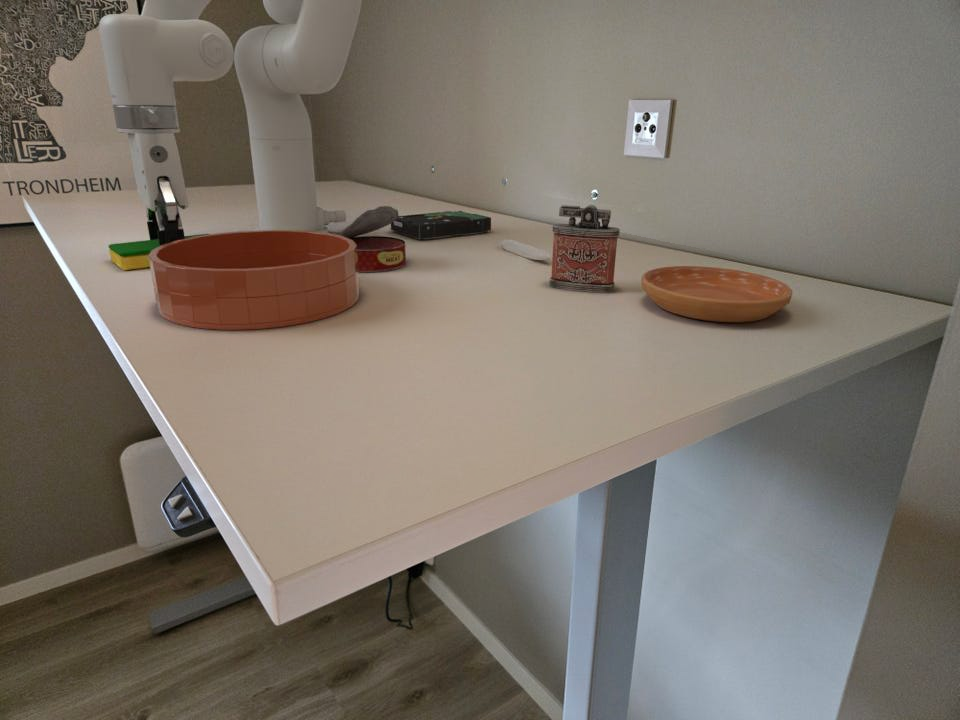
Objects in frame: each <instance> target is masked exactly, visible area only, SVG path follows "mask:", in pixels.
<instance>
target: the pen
mask: <svg viewBox="0 0 960 720" xmlns="http://www.w3.org/2000/svg"><path fill="white" fill-rule="evenodd" d="M500 244H501V247H502V248H503V250H505V251H508V252H510V253H513V254H515V255H517V256H520V257H522V258H525V259H529V260H535V261H545V260H549V259H552V257H551V254H550V252H548V251H547V250H543V249H541V248H538V247H535V246H533V245H530V244H527V243H524V242H521V241H519V240H516V239H509V238H507V239H502V240H501V243H500Z"/></svg>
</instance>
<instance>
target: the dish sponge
mask: <svg viewBox="0 0 960 720" xmlns="http://www.w3.org/2000/svg"><path fill="white" fill-rule="evenodd" d="M210 234H211V233H202V234H193V235H184V236H185V239H186V238H191V237H196V236H202V235H210ZM157 247H159V240H158V239H155V240H150V239H147V240H138V241H128V242H119V243H118V242H117V243H111V244H108V251H109V256H110V260H111V262H112V263H114V264H115V265H116V266H118V267H119V268H120V269H121V270H123V271H130V270H140V269H146V268H150V264H149V258H148V255H149V254H150V252H151V250H153V249H155V248H157Z"/></svg>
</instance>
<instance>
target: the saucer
mask: <svg viewBox="0 0 960 720" xmlns="http://www.w3.org/2000/svg"><path fill="white" fill-rule="evenodd" d="M640 283H641V287H642V290H643V291H644V292H645V294H646V295H647V296H648V297H649V298H650V299H651V300H652V301H653V302H654V304H655V305H657V306H658V307H659V308H661V309H662V310H665V311H667V312H668V313H672V314H675V315H678V316H682V317H686V318H690V319H696V320H702V321H708V322H718V323H751V322H757V321H761V320H765V319H767V318H769V317H770V316H772V315H774V314H775V313H776V312H779V311H780V310H782V309H783V308H785V307H786V306H787V305H788V304H789V303H790V302H791V299H792V297H793V289H792V288H791V287H790V286H789V285H788V284H786V283H784V282H782V281H781V280H778V279H775V278H772V277H770V276H766V275H763V274H758V273H754V272H750V271H745V270H738V269H732V268H723V267H714V266H701V265H700V266H697V265H676V266H675V265H674V266H673V265H672V266H665V267H658V268H654V269H650V270H647V271H646V272H644V273H643V274H642V275H641V282H640Z"/></svg>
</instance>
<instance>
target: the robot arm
mask: <svg viewBox="0 0 960 720" xmlns="http://www.w3.org/2000/svg"><path fill="white" fill-rule="evenodd" d="M211 1H212V0H144V3H143V6H142V10H141V13H140V14H133V13H132V14H131V13H112V14H107V15H104V16H103V17H101V18H100V20H99V23H98V30H99V36H100V43H101V49H102V53H103V59H104V65H105V71H106V76H107V81H108V82H107V83H108V85H109V92H110V97H111V103H112V109H113V115H114V120H115V127H116V131H117V133H119V134H127V138H128V139H127V140H128V145H129V151H130V155H131V156H130V157H131V163H132V169H133V174H134V179H135V183H136V188H137V193H138V196H139V201H140V202H141V204H142V205H143V206H144V207H145V211H146V219H147V221H146V224H147V230H148V237H149V240H155V239H158V240H159V246H161V245H164V244H167V243H170V242H174V241H177V240H181V239H185V236H186V235H185V230H184V228H183V222H182V218H181V215H180V210H179V208H180V209H181V210H186V209H188V207H189V204H190V203H189V198H188V194H187V188H186V183H185V177H184V172H183V168H182V163H181V157H180V152H179V148H178V144H177V140H176V137H175V134H178V133H181V128H180V120H179V112H178V108H177V107H178V106H177V100H176V94H175V86H174V82H211V81H215V80H218V79H221V78H222V77H224V76H225V75H227V73H229V71H230V70H231V68H232V66H233V65H234V66H235V68H234V69H235V72H236V76H237V80H238V83H239V86H240V90H241V93H242V96H243V97H242V98H243V101H244V106H245V111H246V112H245V113H246V118H247V125H248V134H249V135H248V136H249V145H250V153H251V163H252V172H253V183H254V189H255V198H256V206H257V208H256V209H257V217H258V227H254V228H252V229H251V230H250V231H256V230H300V231H315V232H323V233H330V232H329V228H328V225H329V224H330V223H344V222H346V221H347V214H346V211H345V210H344V209H342V210H327V209H324V208H322V207H319V206H318V201H317V189H316V188H317V187H316V176H315V175H316V174H315V162H314V161H315V160H314V149H313V134H312V133H313V132H312V124H311V120H310V116H309V112H308V110H307V108H306V105H305V104H304V102H303V99H302V97H301V95H321V94H325V93H328V92H330V91H331V90H333V88H335V87H336V85H337V84H338V83H339V81H340V79H341V78H342V75H343V73H344V69H345V67H346V64H347V61H348V58H349V53H350V50H351V46H352V44H353V43H352V42H353V40H354V36H355V32H356V29H357V25H358V22H359V18H360V13H361V8H362V0H262V4H263V7H264V9H265V12H266V14H267V15H268V16H269V17H270V18H271V19H272V20H273V21H274V22H276V23H277V24H267V25H265V24H264V25H260V26H256V27H253V28H250V29H248V30H247V31H245V32H244V33H243V34H242V35H241V36H240V37H239V39H238V40H237V42H236V44H235V48H234V46H233V44H232V41H231V40H230V38H229V36H228V35H227V34H226V33H225V31H224V30H222V29H221V28H220V27H219V26H217V25H216V24H214V23H213V22H210V21H207V20H203V19H199V18H200V16H201V14H202V13H203V12H204V11H205V9H206V7H207V6H208V5H209V3H211ZM233 63H234V64H233Z"/></svg>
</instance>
